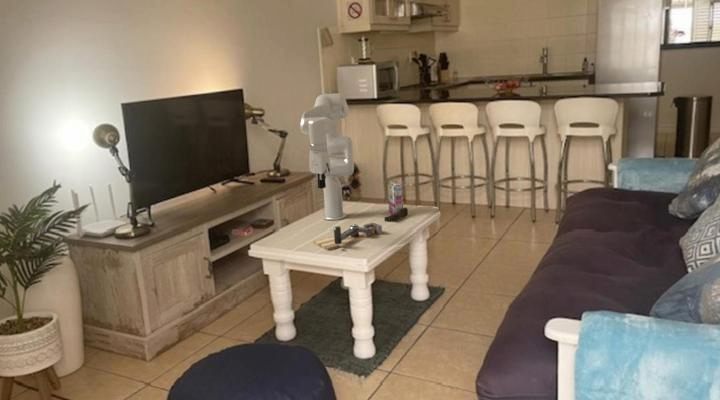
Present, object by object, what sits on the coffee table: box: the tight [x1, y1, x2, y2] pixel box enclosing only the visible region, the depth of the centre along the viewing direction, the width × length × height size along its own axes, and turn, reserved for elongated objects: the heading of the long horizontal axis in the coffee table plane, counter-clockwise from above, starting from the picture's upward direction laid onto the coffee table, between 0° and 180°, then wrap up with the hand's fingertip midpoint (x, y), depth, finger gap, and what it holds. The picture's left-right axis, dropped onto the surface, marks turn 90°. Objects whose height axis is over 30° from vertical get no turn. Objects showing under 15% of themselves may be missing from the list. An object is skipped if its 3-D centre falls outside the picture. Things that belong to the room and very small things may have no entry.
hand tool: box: [384, 207, 409, 223], centre depth 300 cm, size 19×4×5 cm, turn 141°
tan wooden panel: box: [313, 222, 384, 251], centre depth 270 cm, size 13×30×5 cm, turn 122°
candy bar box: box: [387, 181, 404, 215], centre depth 309 cm, size 11×5×16 cm, turn 14°
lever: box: [333, 223, 372, 244], centre depth 263 cm, size 10×20×8 cm, turn 154°
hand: (321, 187), depth 265 cm, fingers closed
